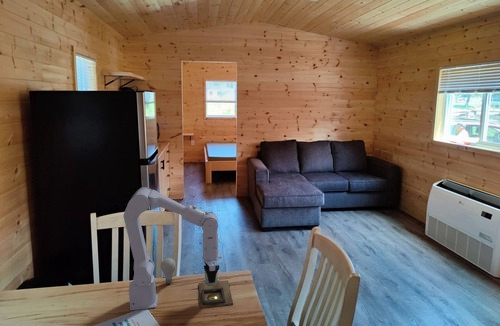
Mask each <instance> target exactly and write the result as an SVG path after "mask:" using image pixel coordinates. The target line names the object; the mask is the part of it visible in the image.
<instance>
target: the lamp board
mask: <svg viewBox="0 0 500 326" xmlns="http://www.w3.org/2000/svg"><path fill="white" fill-rule="evenodd" d="M213 288H223V290H224V295H225V303H219V304H209V305H203V301H202V290H203V289H213ZM198 289H199V301H200V309H206V308H214V307H224V306H225V307H226V306H233V305H234V301H233V297H232V293H231V289H230V283H229V280H228V279H227V280H219V282H218V283H217V284H216V285H214V286H207V285H206V284H205V283H203V282H200V283H199V282H198ZM210 294H217V295H219V299H223V298H222V293H221V292H212V293H204V297H205V301H208V295H210Z"/></svg>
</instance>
